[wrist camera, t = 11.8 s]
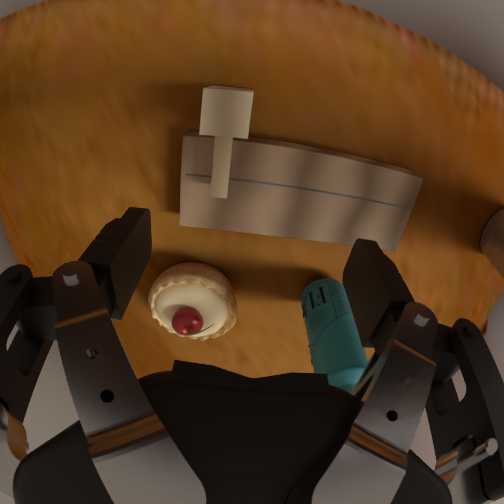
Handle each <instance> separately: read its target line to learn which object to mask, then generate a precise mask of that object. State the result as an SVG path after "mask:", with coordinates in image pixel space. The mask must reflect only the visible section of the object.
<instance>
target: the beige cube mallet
mask: <svg viewBox="0 0 504 504" xmlns="http://www.w3.org/2000/svg"><path fill="white" fill-rule="evenodd" d="M253 94H254V91H253V89H248V88H238V87H226V86H209V87H206V88H203V97H202V108H201V120H200V132H199V135H212V136H215V143H214V155H213V167H212V180H211V195H210V197H216V198H227V193H228V183H229V173H230V164H231V154H232V145H233V137H235V138H244V139H248V132H249V124H250V117H251V109H252V101H253Z"/></svg>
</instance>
